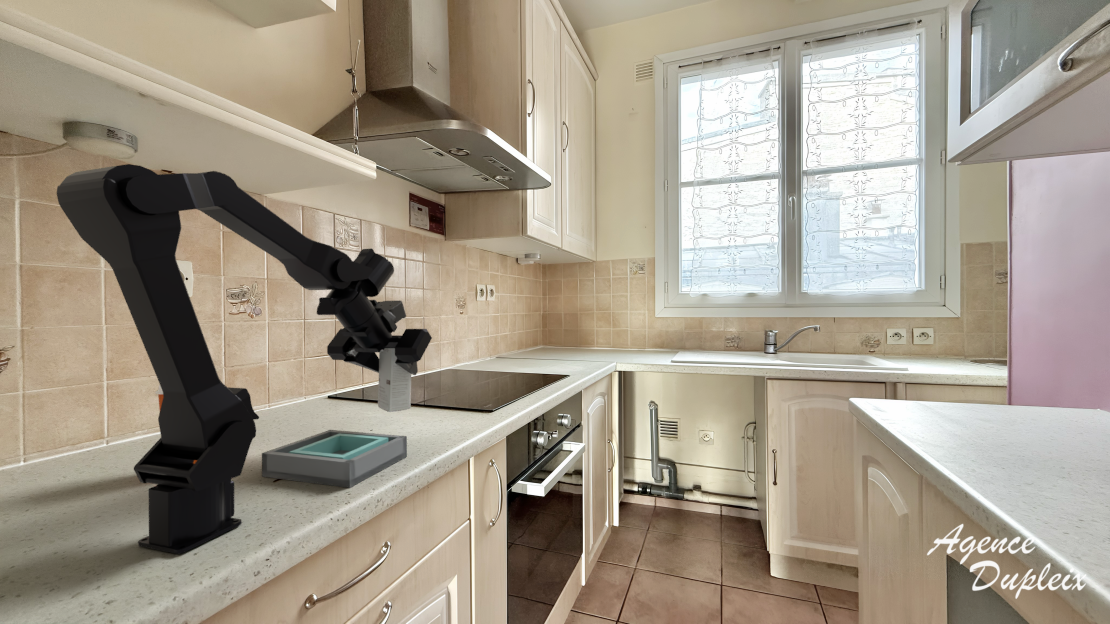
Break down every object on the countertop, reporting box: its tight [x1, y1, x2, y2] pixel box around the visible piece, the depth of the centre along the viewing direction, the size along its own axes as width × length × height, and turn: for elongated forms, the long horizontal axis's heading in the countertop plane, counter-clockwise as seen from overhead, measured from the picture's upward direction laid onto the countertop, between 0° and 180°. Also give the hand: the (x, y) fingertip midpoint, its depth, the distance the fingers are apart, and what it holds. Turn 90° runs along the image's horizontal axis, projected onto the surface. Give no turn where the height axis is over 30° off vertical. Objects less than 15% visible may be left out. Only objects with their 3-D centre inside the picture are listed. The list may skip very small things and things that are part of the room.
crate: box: [261, 429, 408, 489], centre depth 67 cm, size 13×16×4 cm
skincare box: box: [377, 348, 412, 413], centre depth 80 cm, size 6×4×12 cm
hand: (399, 372), depth 81 cm, fingers closed on skincare box, 7 cm apart
